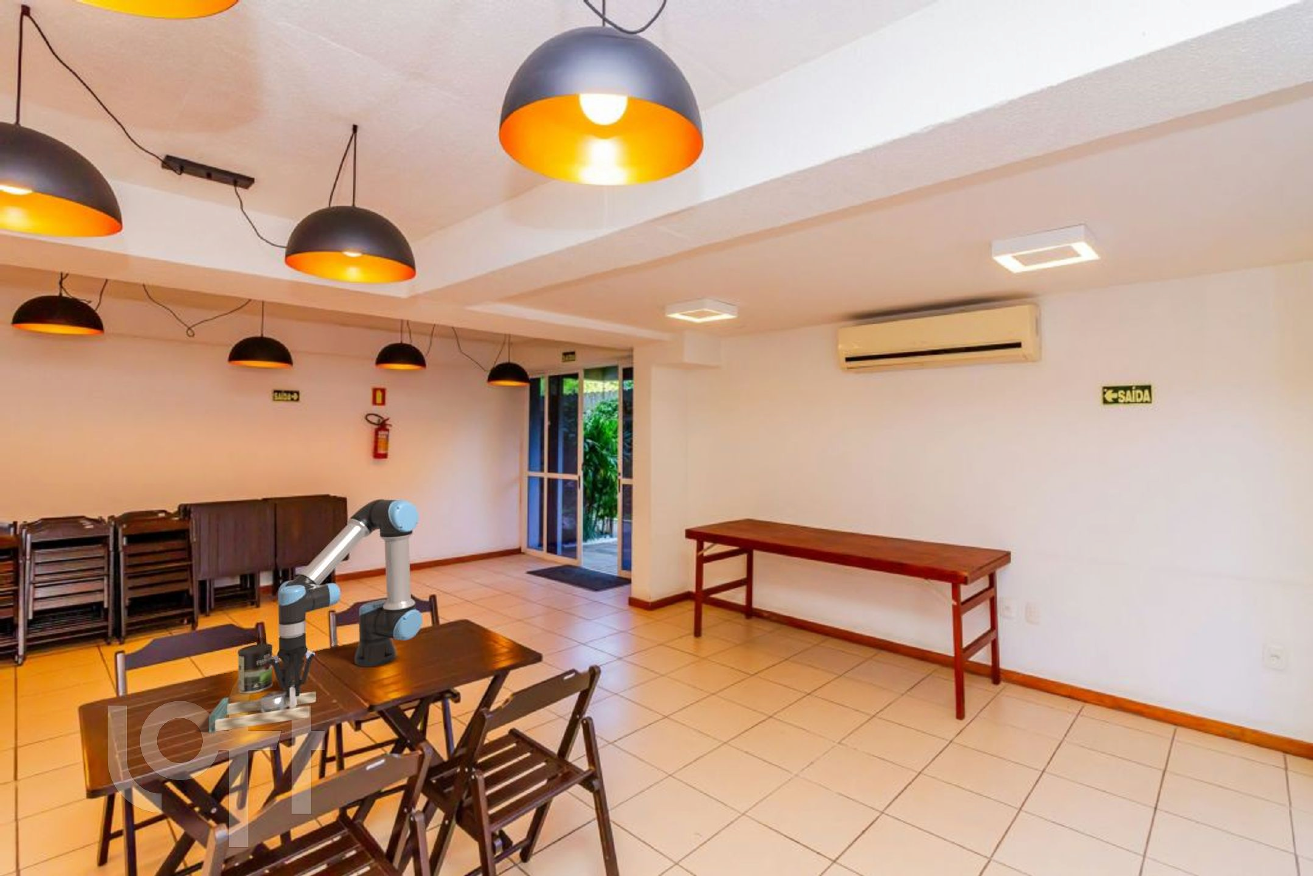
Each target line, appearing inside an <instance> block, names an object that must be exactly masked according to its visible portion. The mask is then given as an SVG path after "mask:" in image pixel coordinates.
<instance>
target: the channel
mask: <svg viewBox="0 0 1313 876" xmlns="http://www.w3.org/2000/svg"><path fill="white" fill-rule="evenodd" d="M316 695H317V692H316V691H309V692H303V693H301V692H300V694H299V696H297V705H304V704H311V703H315V702H317V701H316V700H317V698H316ZM297 705H296V706H297ZM286 707H290V697H289V698H287V697H286ZM256 711H261V698H260V699H252V700H246V701H238V702H232V703H229V697H224V698H222V699H221V700H220V702H219V703H218V704H217V705H216V707H215V708H214V709H213V710H212V712H211V713H210V714H209V716H208V728H209V729H208V732H209V733H215V732H221V731H227V730H228V731H229V730H234V729H240V728H248V727H255V726H260V725H269V724H273V723H279V722H286V721H292V720H298V719H299V720H300V719H307V718H310V705H306V706H301V707H295V708H286V709H285V710H278V711H272V712H265V713H261V712H257V713H252V712H256ZM250 712H251V713H252V714H245V715H240V716H239V715H237V716H232V717H227V716H228V715H235V714H241V713H242V714H243V713H250Z"/></svg>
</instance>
